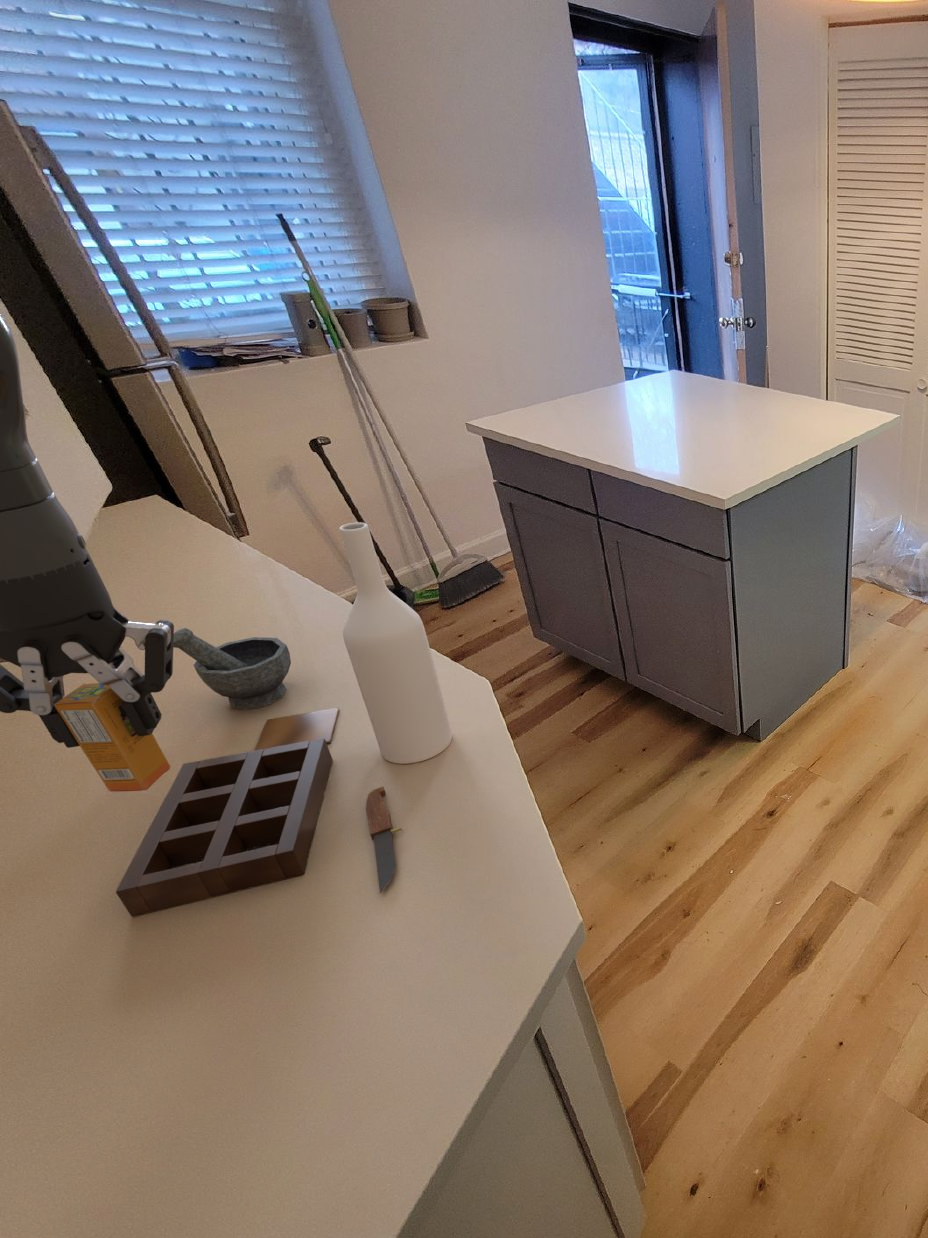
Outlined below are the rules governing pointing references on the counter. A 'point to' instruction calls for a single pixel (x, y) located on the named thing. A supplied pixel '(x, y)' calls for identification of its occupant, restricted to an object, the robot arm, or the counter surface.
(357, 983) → the counter surface
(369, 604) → the bottle
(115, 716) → the supplement box
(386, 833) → the knife
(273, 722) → the coaster
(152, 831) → the rack
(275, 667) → the mortar and pestle
